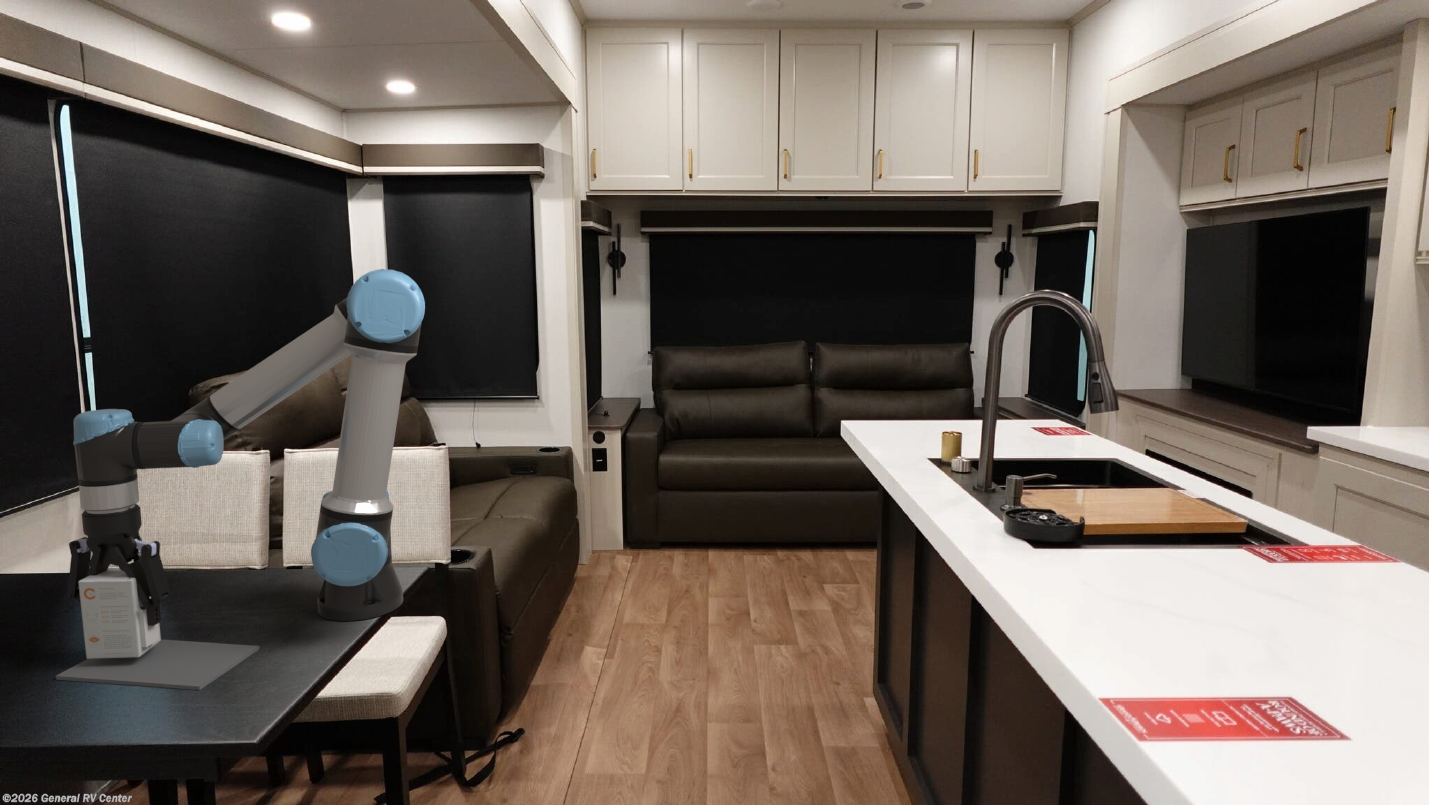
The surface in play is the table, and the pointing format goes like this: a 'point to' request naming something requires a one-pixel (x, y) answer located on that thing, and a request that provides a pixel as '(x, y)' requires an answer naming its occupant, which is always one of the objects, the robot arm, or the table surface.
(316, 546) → the robot arm
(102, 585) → the small box
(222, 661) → the mat
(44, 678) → the table surface
